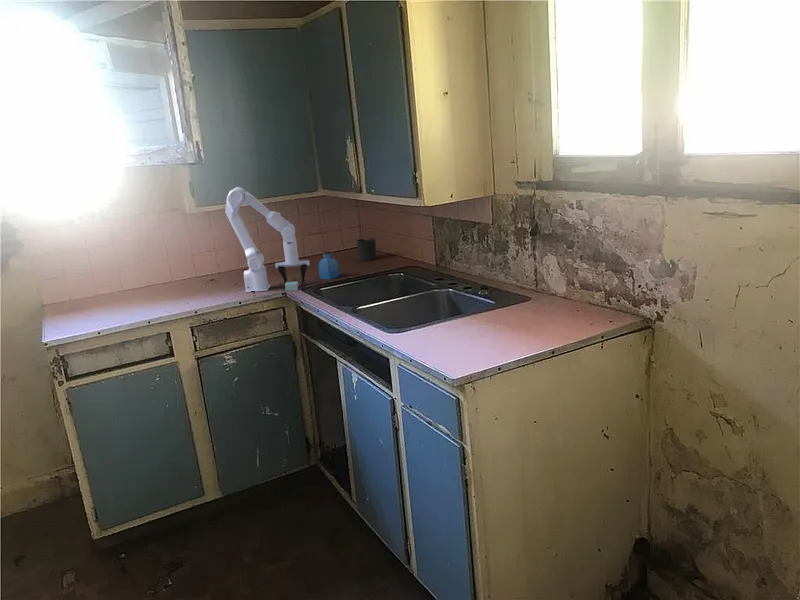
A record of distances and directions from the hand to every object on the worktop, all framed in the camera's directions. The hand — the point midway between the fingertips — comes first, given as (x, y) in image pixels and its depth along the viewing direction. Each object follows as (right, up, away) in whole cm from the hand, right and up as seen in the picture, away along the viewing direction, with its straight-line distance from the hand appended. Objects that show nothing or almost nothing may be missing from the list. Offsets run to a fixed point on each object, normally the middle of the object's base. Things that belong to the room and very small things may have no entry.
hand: (294, 282), depth 283 cm
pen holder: (+30, +12, +43) cm, 54 cm away
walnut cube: (0, -1, 0) cm, 2 cm away
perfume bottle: (+14, +3, +11) cm, 18 cm away
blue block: (0, -3, -5) cm, 6 cm away
